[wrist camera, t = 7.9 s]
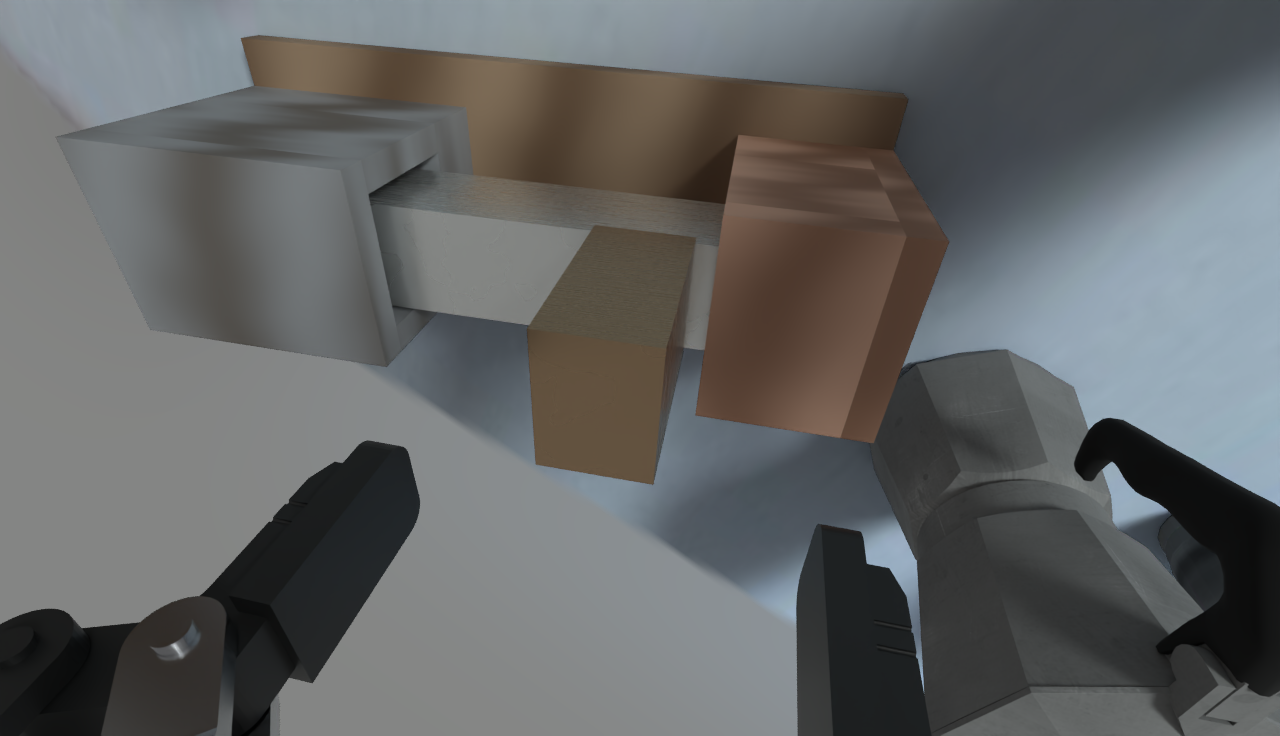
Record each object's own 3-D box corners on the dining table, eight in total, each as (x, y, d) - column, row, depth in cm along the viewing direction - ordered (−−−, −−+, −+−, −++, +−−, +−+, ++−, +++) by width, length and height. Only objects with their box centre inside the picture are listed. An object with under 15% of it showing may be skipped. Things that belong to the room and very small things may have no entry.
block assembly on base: (903, 93, 21) (975, 171, 14) (834, 334, 27) (858, 482, 19) (258, 35, 24) (23, 72, 16) (321, 263, 30) (169, 368, 22)
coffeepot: (1010, 536, 32) (1211, 1031, 17) (829, 504, 33) (874, 945, 18) (1179, 272, 23) (1897, 836, 8) (923, 240, 24) (1159, 691, 9)
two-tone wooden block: (850, 212, 20) (901, 382, 12) (822, 317, 22) (849, 518, 14) (375, 158, 22) (151, 274, 14) (395, 260, 24) (213, 408, 16)
